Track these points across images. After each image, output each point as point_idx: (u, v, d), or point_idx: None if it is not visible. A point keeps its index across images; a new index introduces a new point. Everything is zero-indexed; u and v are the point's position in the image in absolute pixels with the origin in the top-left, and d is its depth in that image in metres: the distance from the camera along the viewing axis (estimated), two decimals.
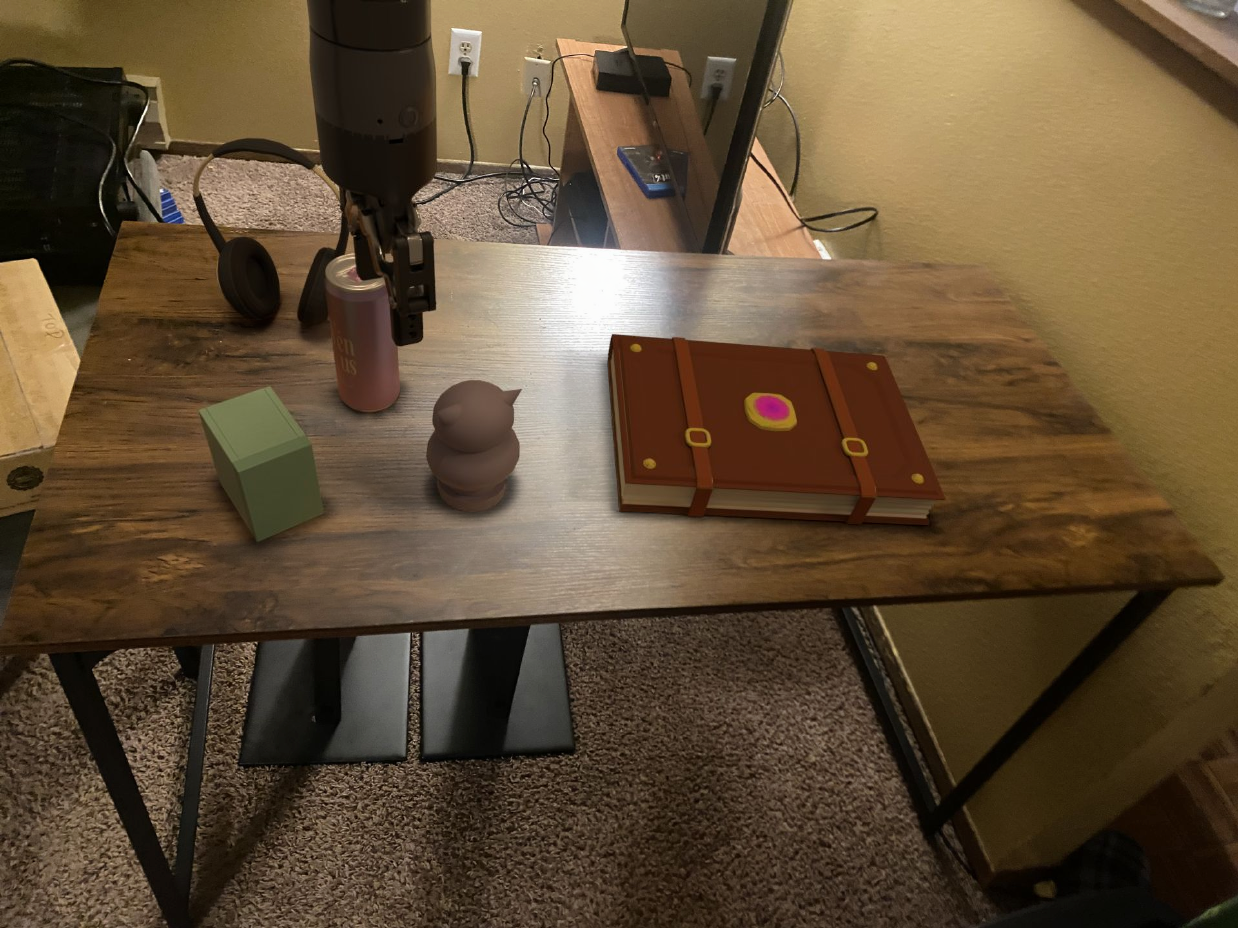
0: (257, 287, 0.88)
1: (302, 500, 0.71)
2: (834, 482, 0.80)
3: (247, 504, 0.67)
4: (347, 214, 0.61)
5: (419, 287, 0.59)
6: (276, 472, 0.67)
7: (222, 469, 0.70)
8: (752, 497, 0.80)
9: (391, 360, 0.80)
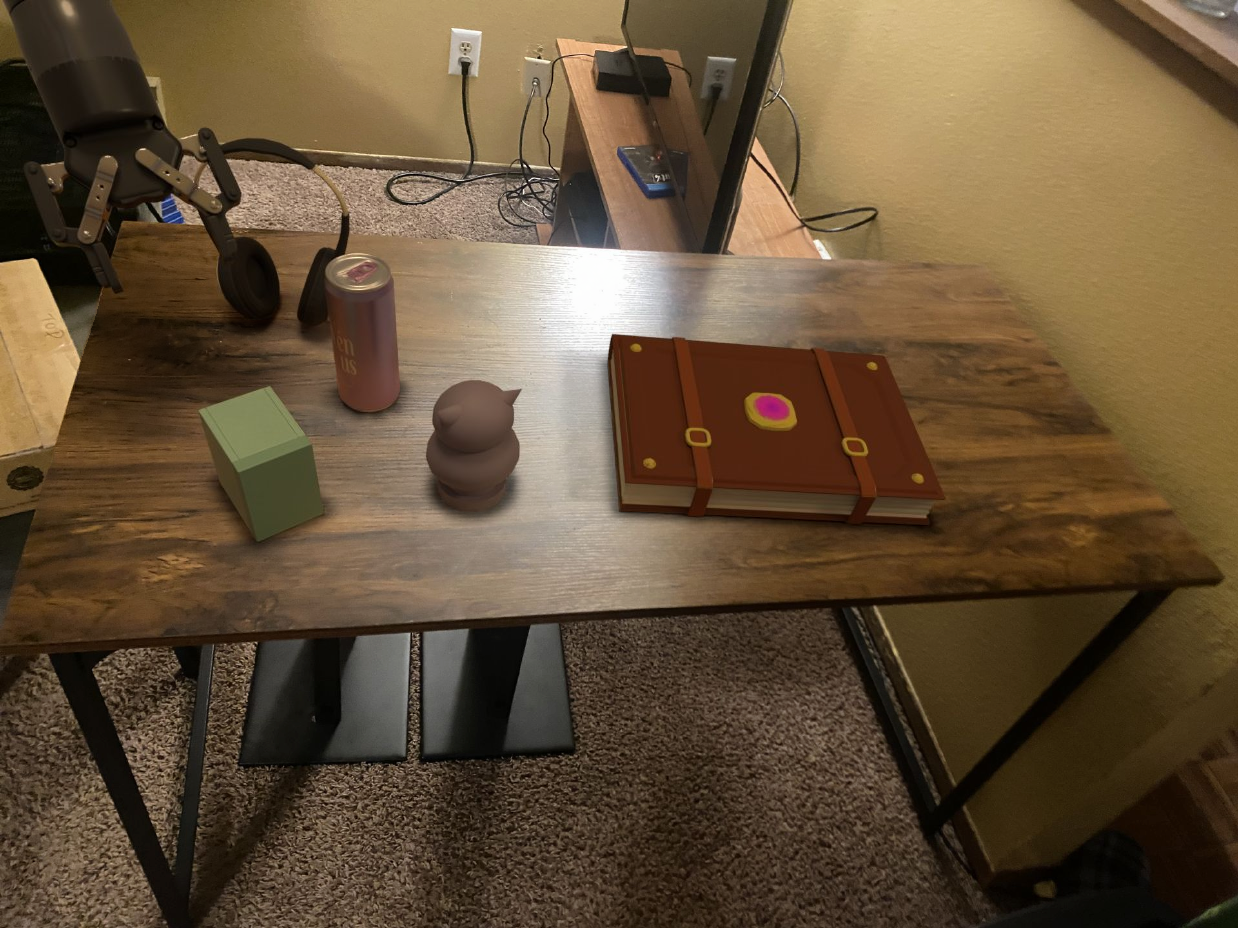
0: (257, 287, 0.88)
1: (302, 500, 0.71)
2: (834, 481, 0.80)
3: (247, 504, 0.67)
4: (95, 202, 0.64)
5: None
6: (276, 472, 0.67)
7: (222, 469, 0.70)
8: (752, 497, 0.80)
9: (391, 360, 0.80)
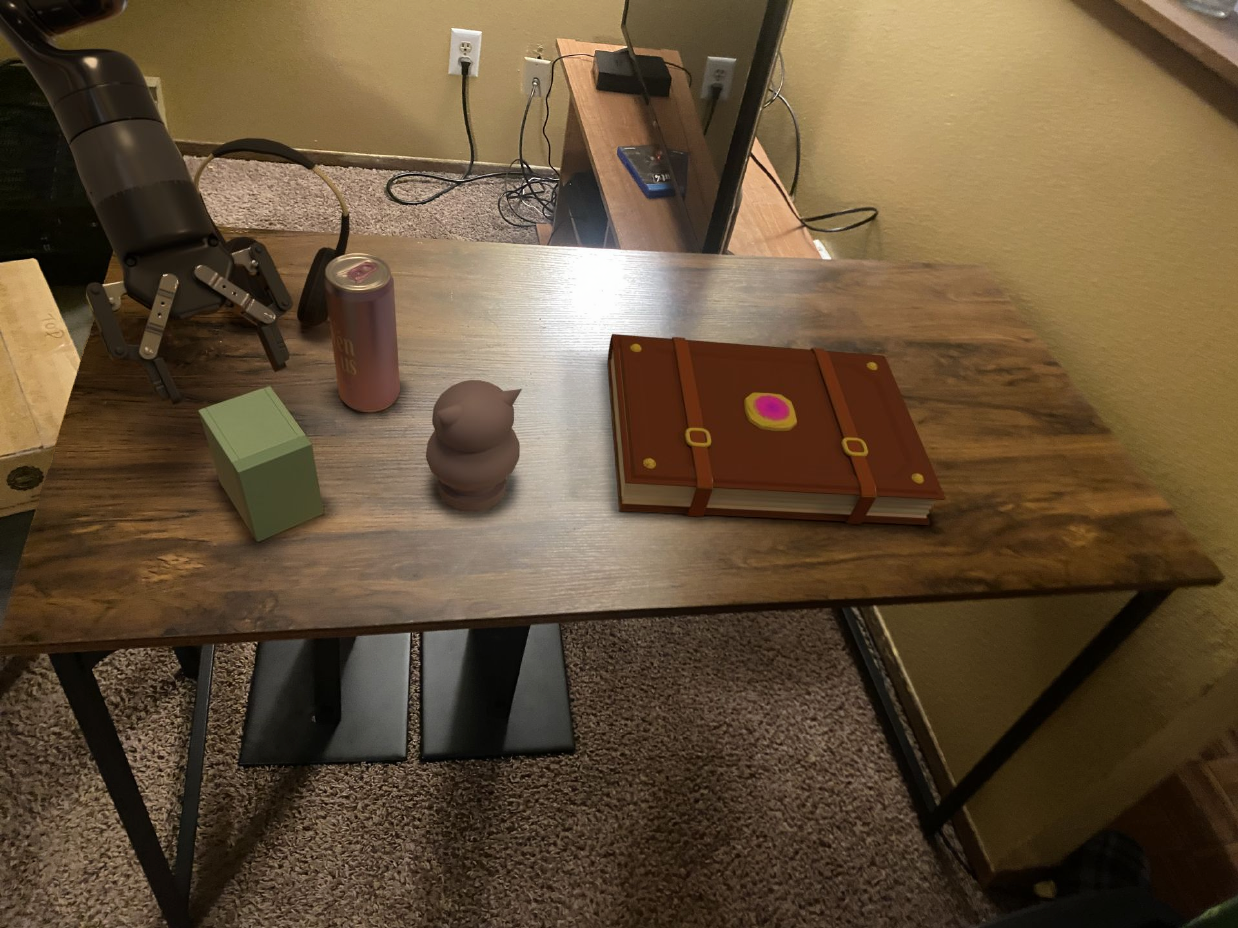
0: (257, 287, 0.88)
1: (302, 500, 0.71)
2: (834, 481, 0.80)
3: (247, 504, 0.67)
4: (156, 318, 0.65)
5: None
6: (276, 472, 0.67)
7: (222, 469, 0.70)
8: (752, 497, 0.80)
9: (391, 360, 0.80)
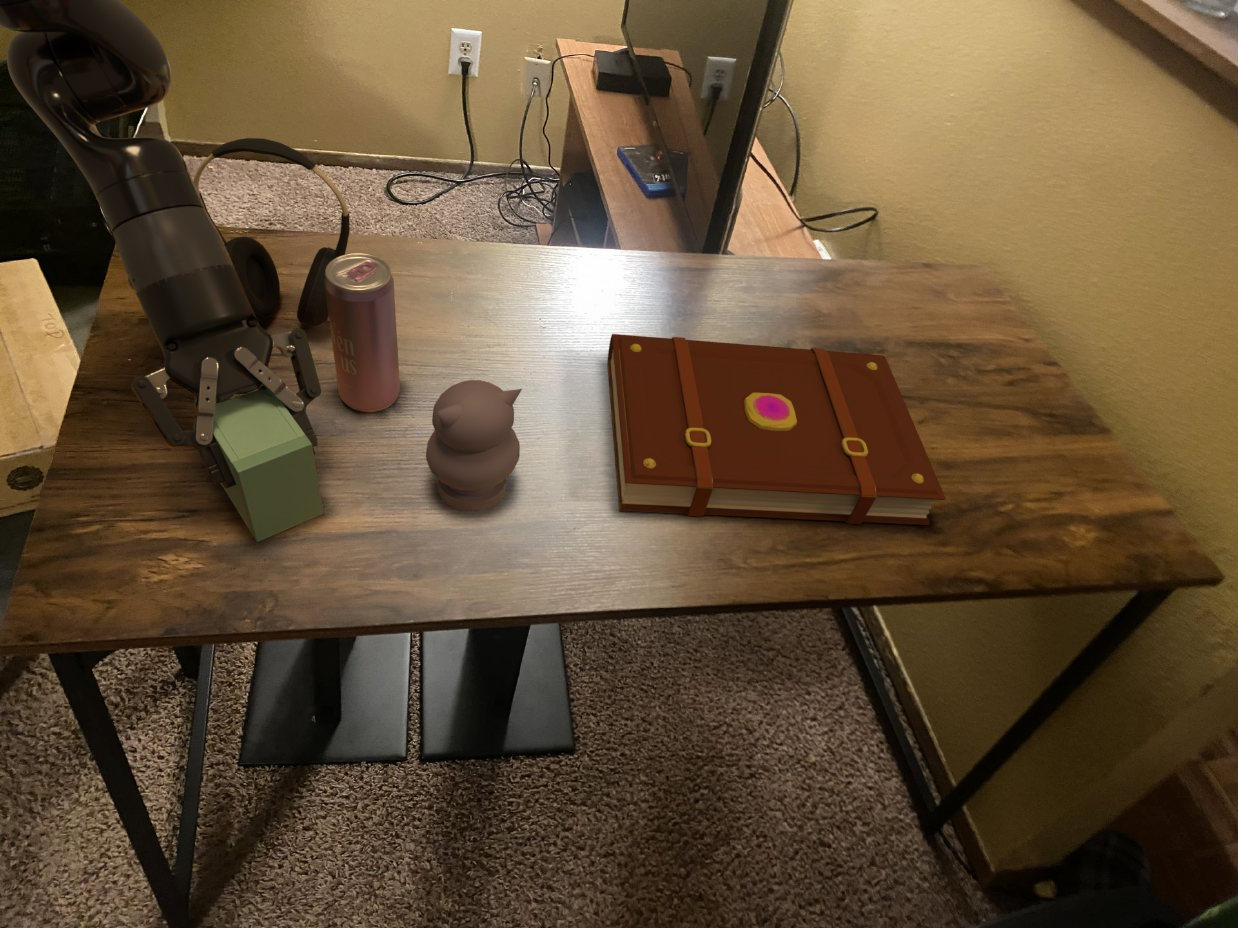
0: (257, 287, 0.88)
1: (302, 500, 0.71)
2: (834, 481, 0.80)
3: (247, 504, 0.67)
4: (205, 404, 0.66)
5: None
6: (276, 472, 0.67)
7: None
8: (752, 497, 0.80)
9: (391, 360, 0.80)
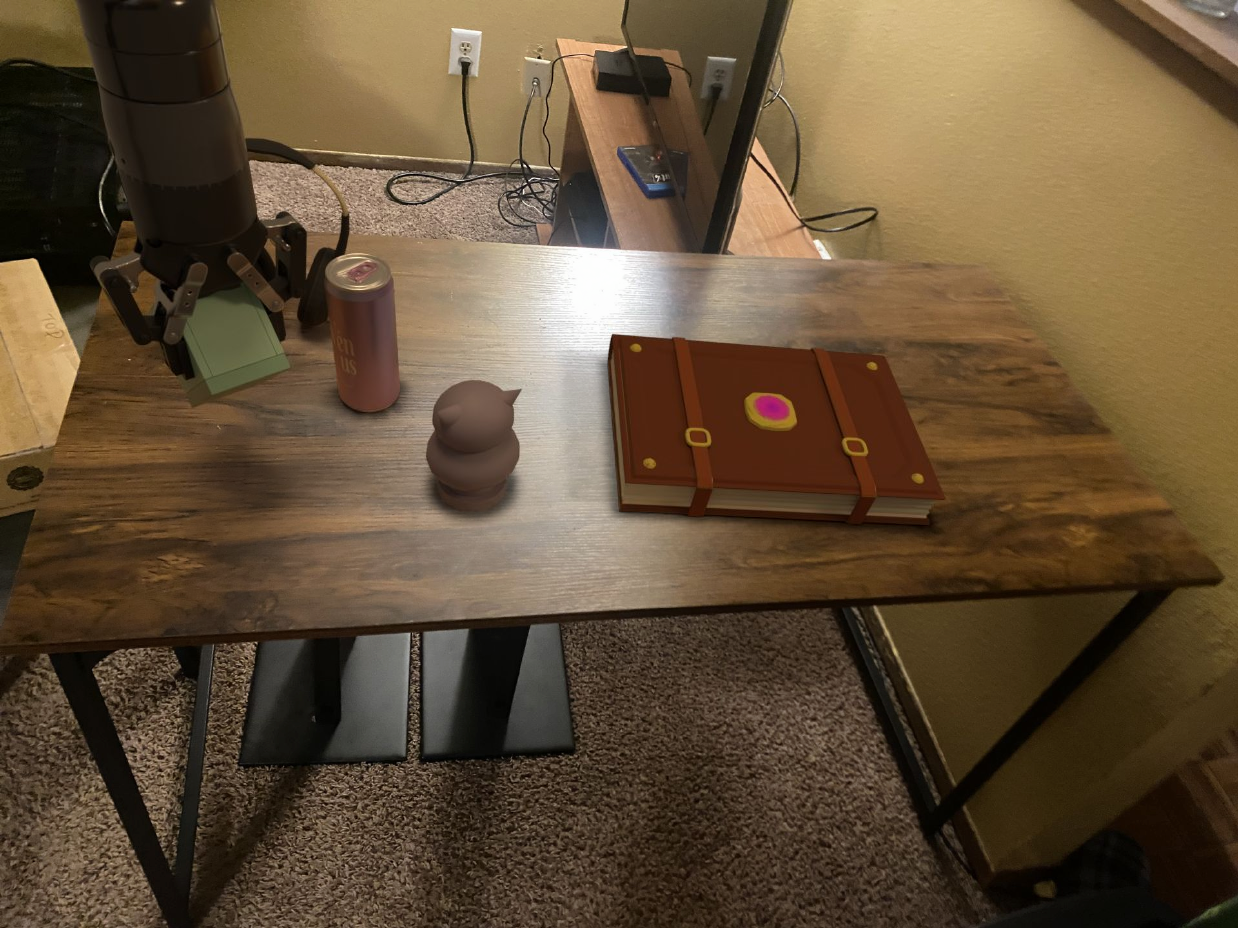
0: None
1: (252, 385, 0.67)
2: (834, 481, 0.80)
3: (203, 400, 0.63)
4: (183, 308, 0.57)
5: None
6: (245, 384, 0.63)
7: None
8: (752, 497, 0.80)
9: (391, 360, 0.80)
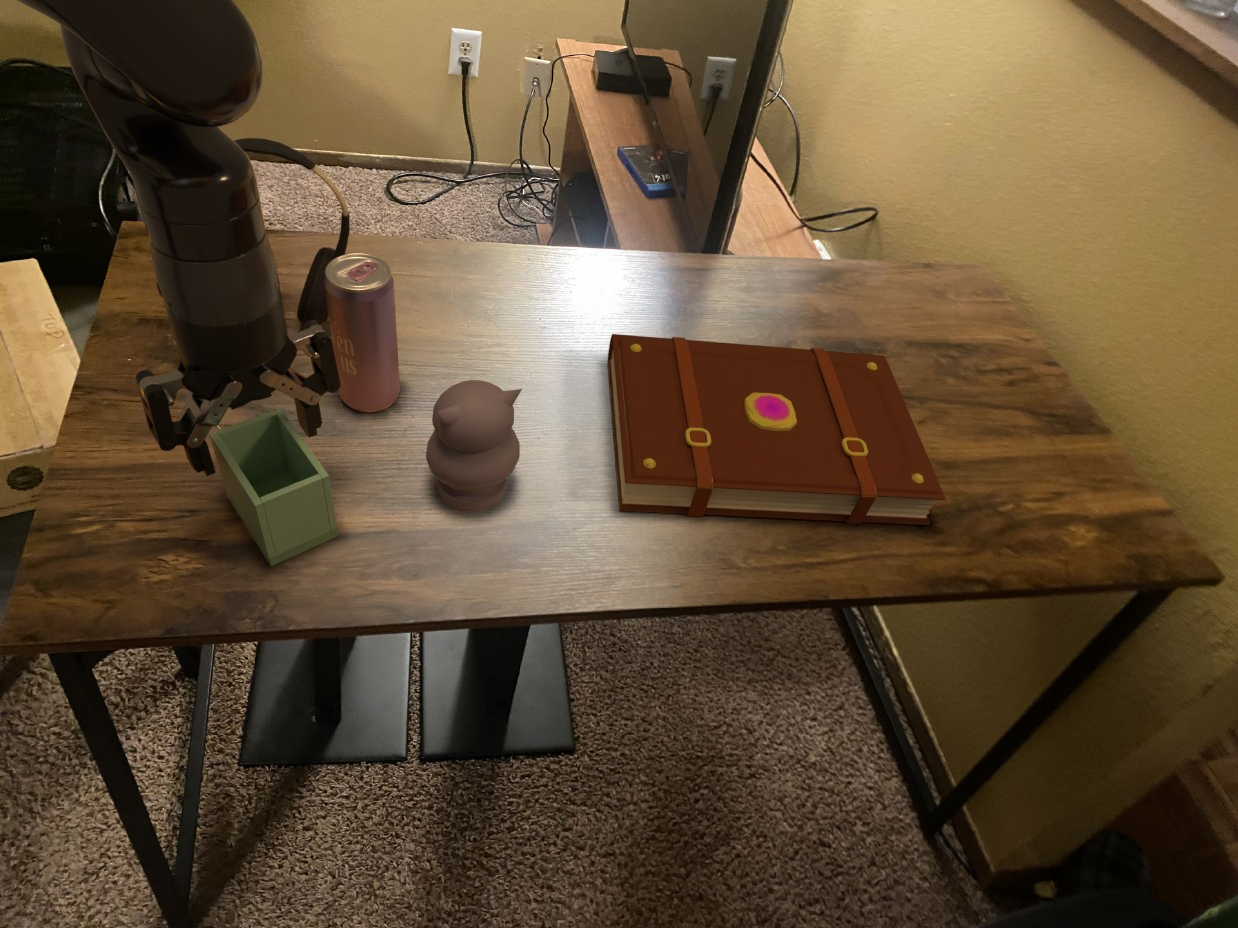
0: None
1: None
2: (834, 481, 0.80)
3: (251, 534, 0.71)
4: (212, 418, 0.63)
5: (303, 377, 0.69)
6: None
7: (236, 490, 0.68)
8: (752, 497, 0.80)
9: (391, 360, 0.80)
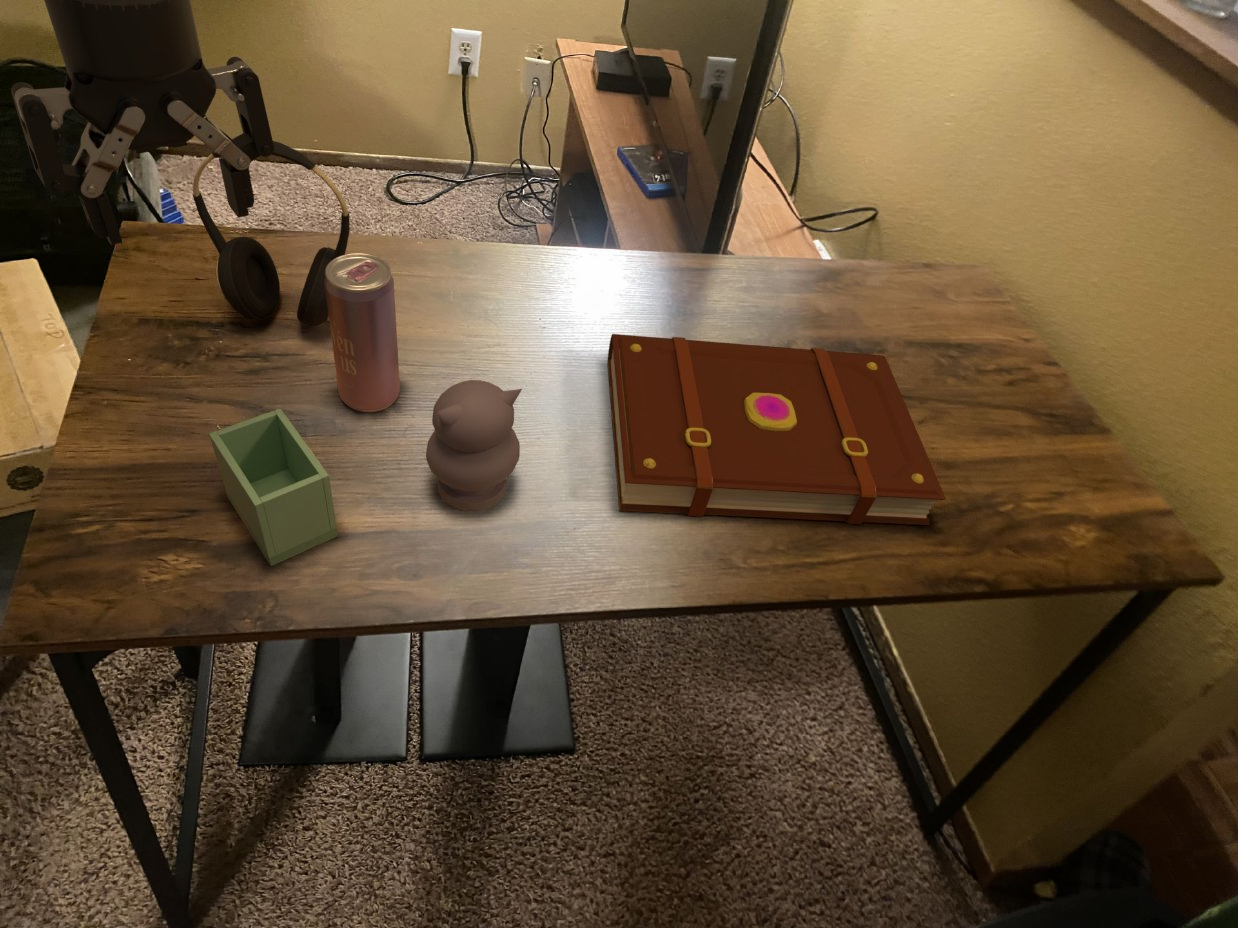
0: (257, 287, 0.88)
1: None
2: (834, 481, 0.80)
3: (251, 534, 0.71)
4: (109, 157, 0.52)
5: (230, 137, 0.58)
6: None
7: (236, 490, 0.68)
8: (752, 497, 0.80)
9: (391, 360, 0.80)
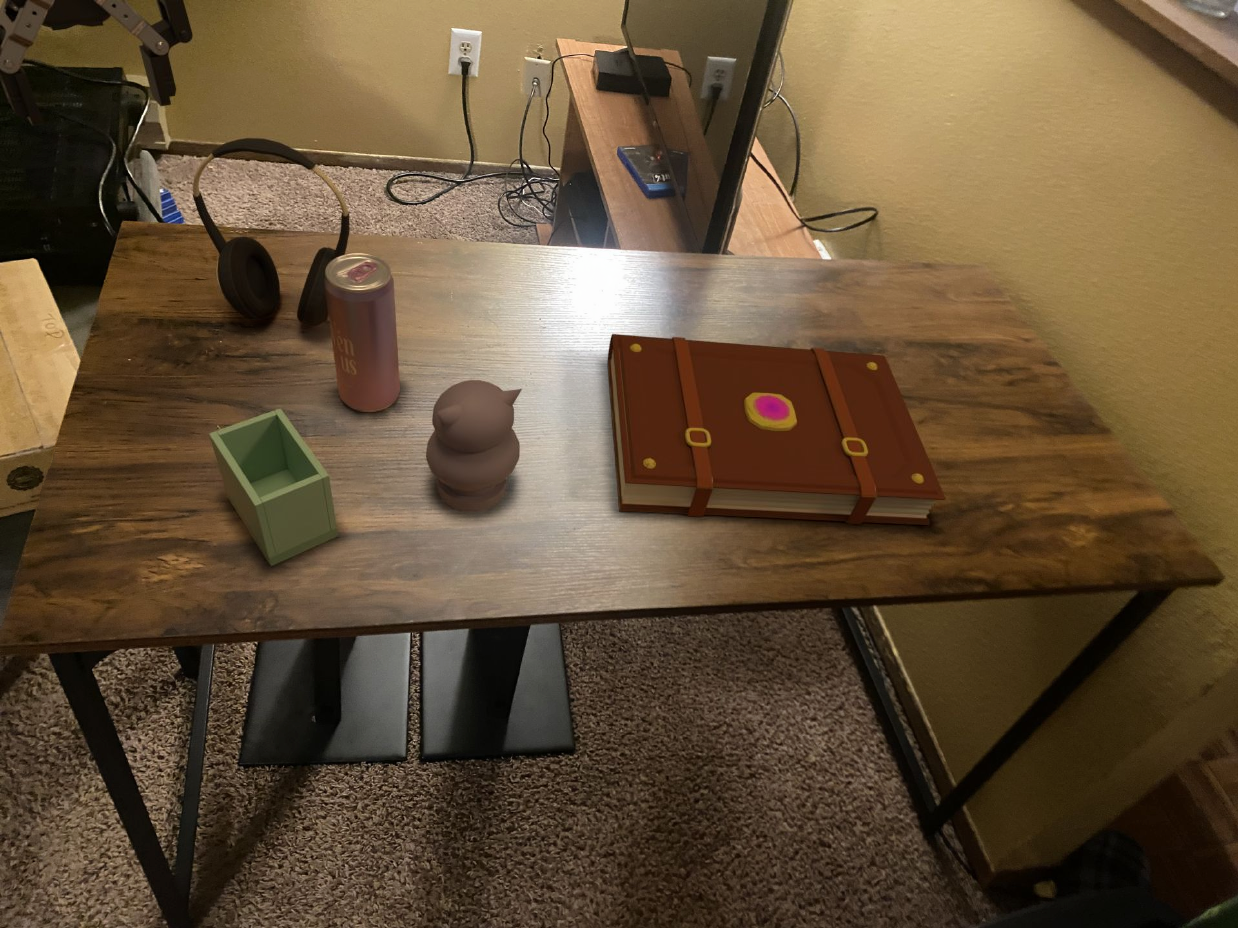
0: (257, 287, 0.88)
1: None
2: (834, 481, 0.80)
3: (251, 534, 0.71)
4: (24, 30, 0.54)
5: (149, 24, 0.60)
6: None
7: (236, 490, 0.68)
8: (752, 497, 0.80)
9: (391, 360, 0.80)
